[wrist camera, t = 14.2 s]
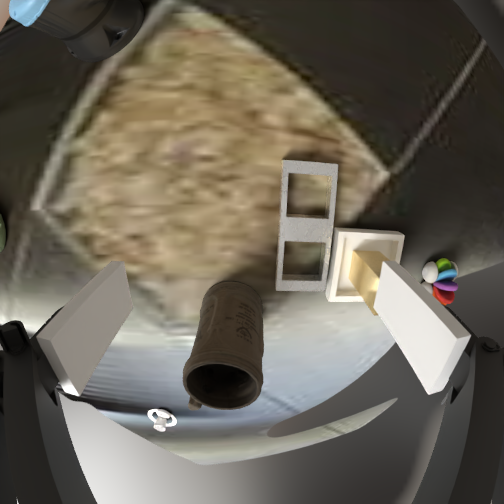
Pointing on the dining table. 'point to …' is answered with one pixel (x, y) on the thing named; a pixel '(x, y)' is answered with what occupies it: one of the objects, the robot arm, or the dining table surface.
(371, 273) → the tan knobbed block
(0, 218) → the green dome pot
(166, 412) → the white valve handwheel
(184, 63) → the dining table surface
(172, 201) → the dining table surface
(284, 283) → the gray rectangular frame
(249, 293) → the beer stein
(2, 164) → the dining table surface
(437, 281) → the rainbow petal fan toy
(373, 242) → the parts tray
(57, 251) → the dining table surface
